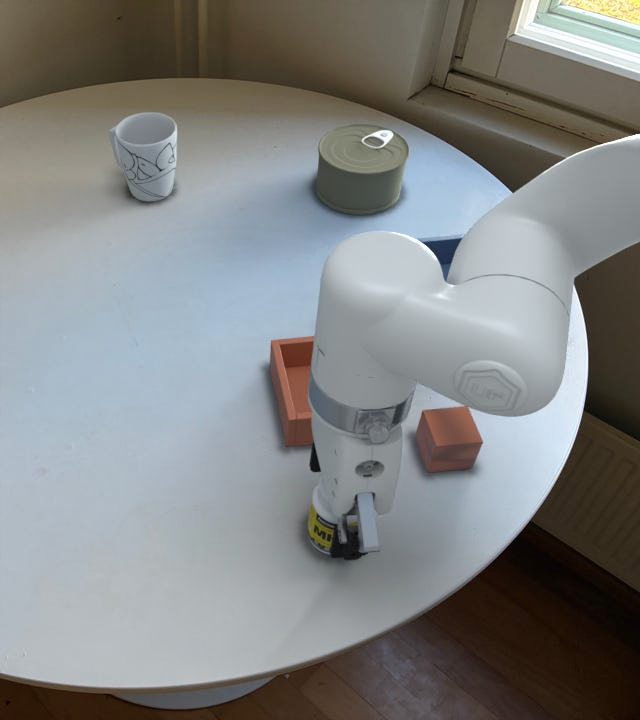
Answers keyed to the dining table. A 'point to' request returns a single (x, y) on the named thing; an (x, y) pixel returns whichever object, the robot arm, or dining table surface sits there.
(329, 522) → the supplement bottle
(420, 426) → the block
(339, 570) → the dining table surface
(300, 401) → the terracotta bin
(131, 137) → the mug
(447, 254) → the blue bin
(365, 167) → the can
